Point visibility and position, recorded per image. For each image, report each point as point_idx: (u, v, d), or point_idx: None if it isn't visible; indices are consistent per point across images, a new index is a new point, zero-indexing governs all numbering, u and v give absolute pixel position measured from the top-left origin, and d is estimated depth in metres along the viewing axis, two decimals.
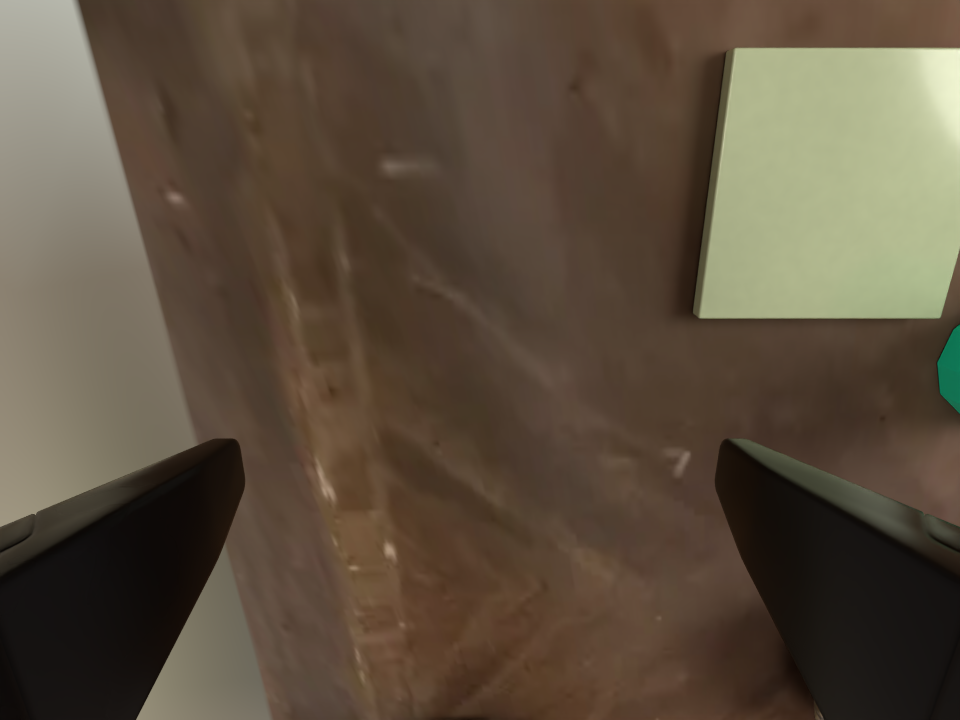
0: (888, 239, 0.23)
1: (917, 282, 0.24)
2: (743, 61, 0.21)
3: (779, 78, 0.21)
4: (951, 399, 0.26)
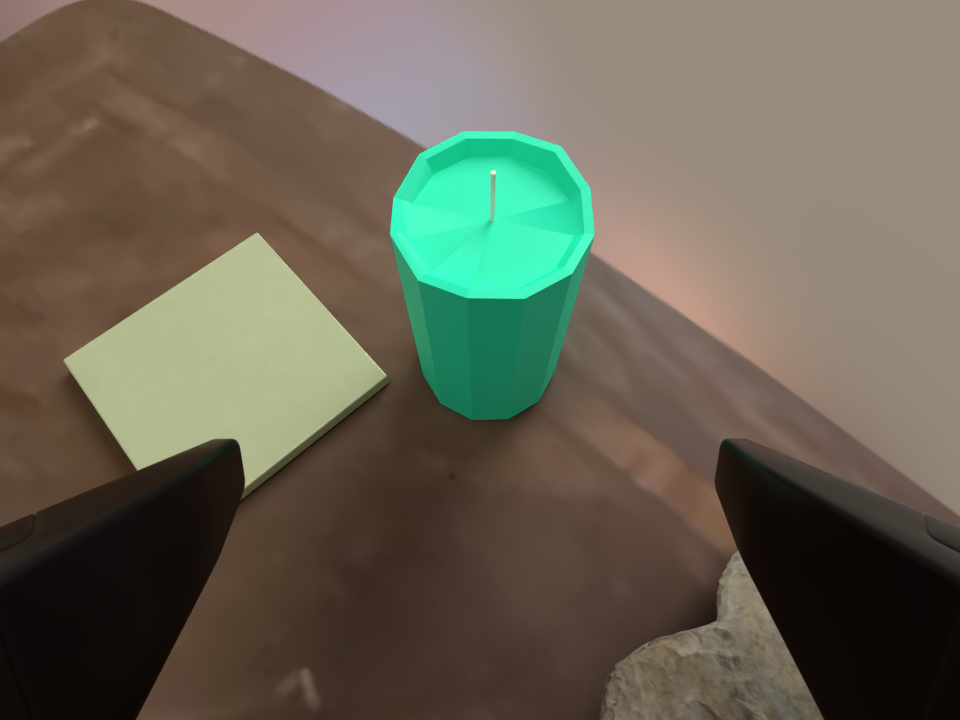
0: (286, 365, 0.26)
1: (340, 370, 0.26)
2: (75, 361, 0.26)
3: (110, 350, 0.26)
4: (471, 414, 0.25)
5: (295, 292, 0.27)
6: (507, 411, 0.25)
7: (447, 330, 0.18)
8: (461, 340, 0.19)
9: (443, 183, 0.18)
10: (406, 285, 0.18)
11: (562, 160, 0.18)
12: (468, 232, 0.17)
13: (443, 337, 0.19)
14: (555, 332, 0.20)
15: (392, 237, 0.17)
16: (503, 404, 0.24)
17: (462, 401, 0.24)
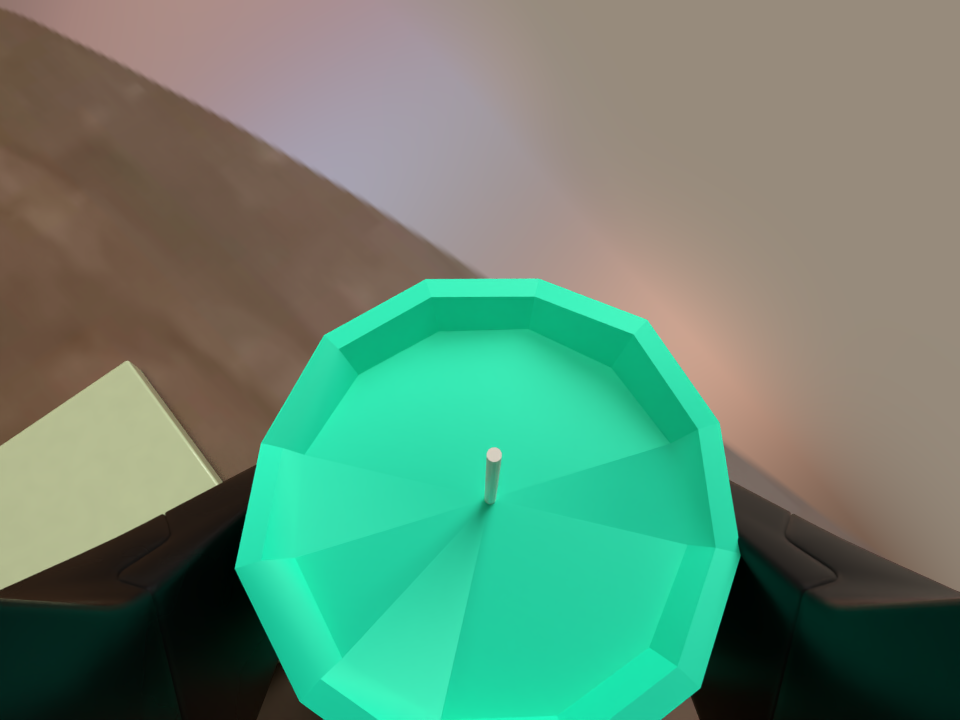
0: None
1: None
2: None
3: None
4: None
5: (177, 465, 0.17)
6: None
7: None
8: None
9: (379, 399, 0.08)
10: None
11: (652, 356, 0.08)
12: (435, 536, 0.07)
13: None
14: None
15: (241, 574, 0.07)
16: None
17: None
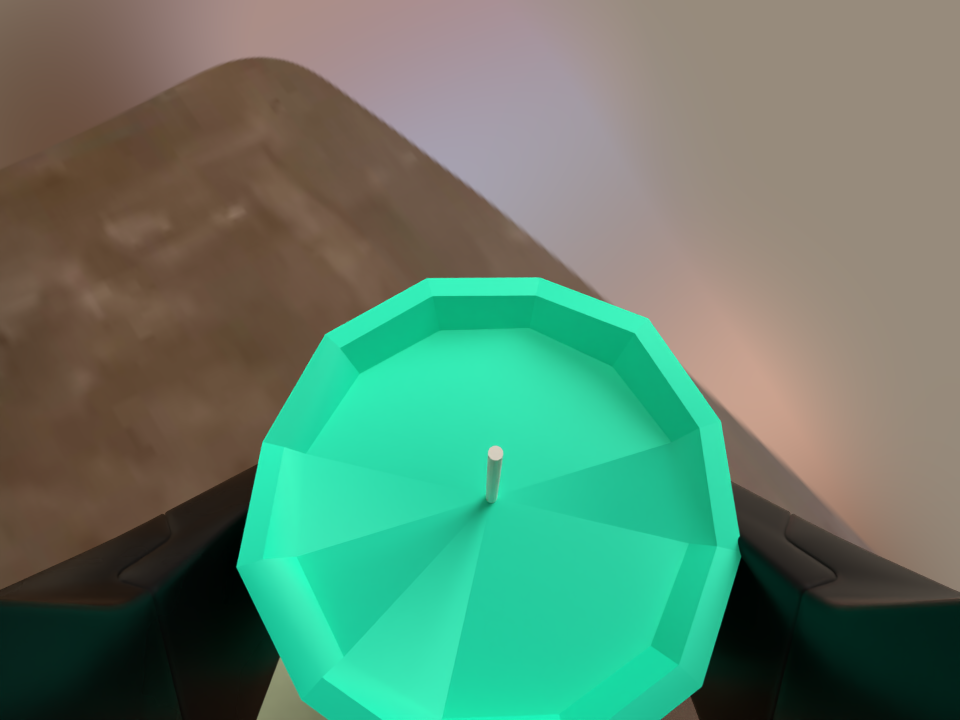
0: None
1: None
2: None
3: None
4: None
5: None
6: None
7: None
8: None
9: (381, 398, 0.08)
10: None
11: (654, 354, 0.08)
12: (436, 534, 0.07)
13: None
14: None
15: (242, 573, 0.07)
16: None
17: None
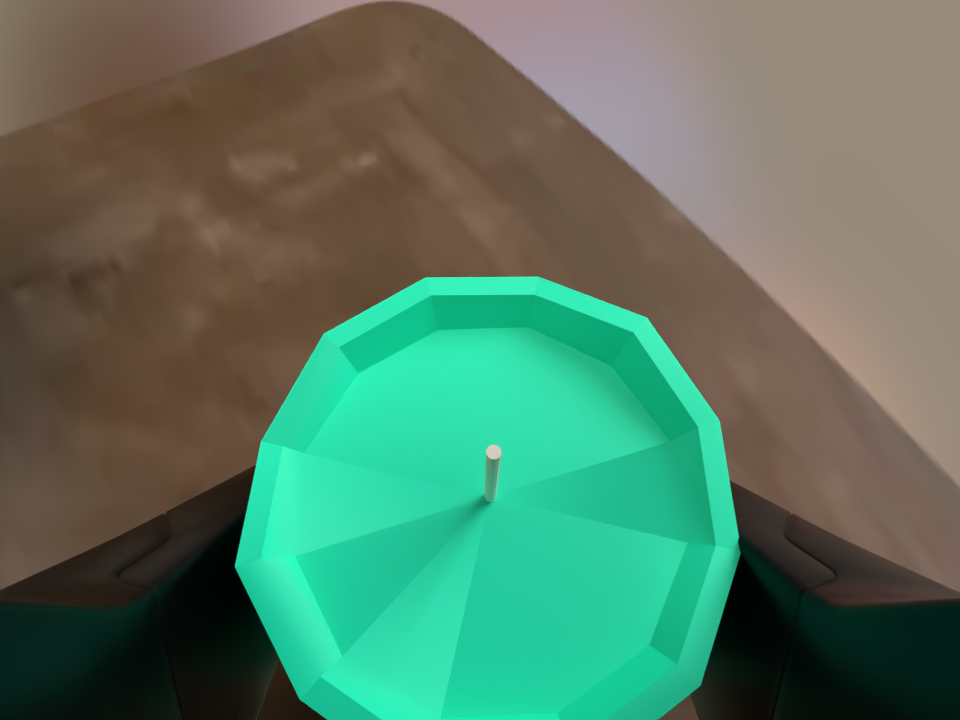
0: None
1: None
2: None
3: None
4: None
5: None
6: None
7: None
8: None
9: (379, 397, 0.08)
10: None
11: (652, 352, 0.08)
12: (434, 534, 0.07)
13: None
14: None
15: (241, 572, 0.07)
16: None
17: None
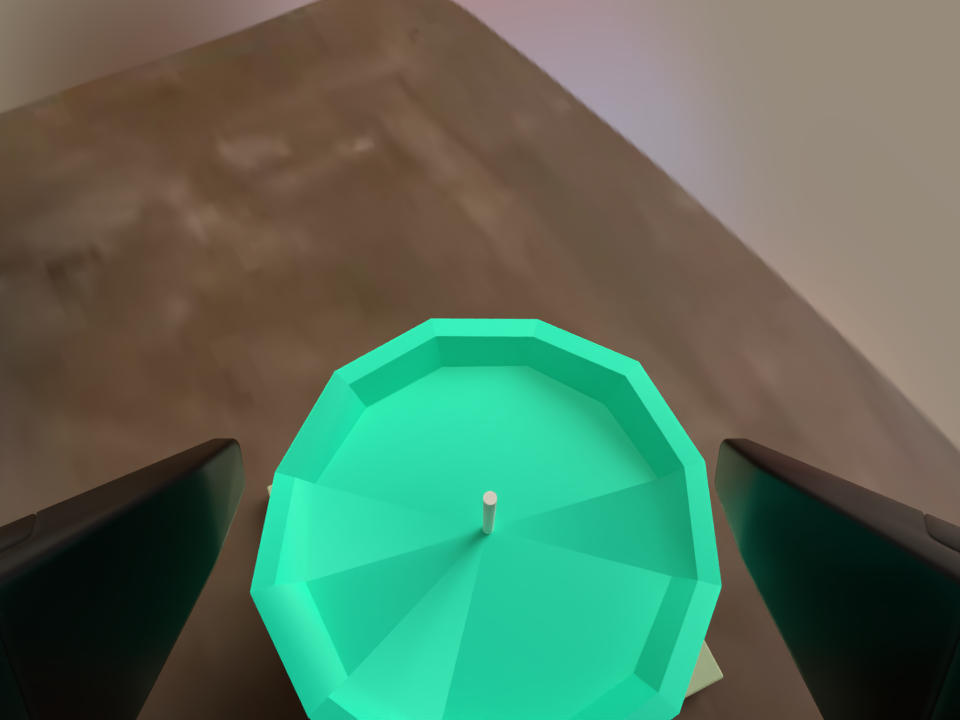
0: None
1: None
2: None
3: None
4: None
5: None
6: None
7: None
8: None
9: (386, 431, 0.09)
10: None
11: (643, 396, 0.08)
12: (436, 563, 0.08)
13: None
14: None
15: (255, 597, 0.07)
16: None
17: None
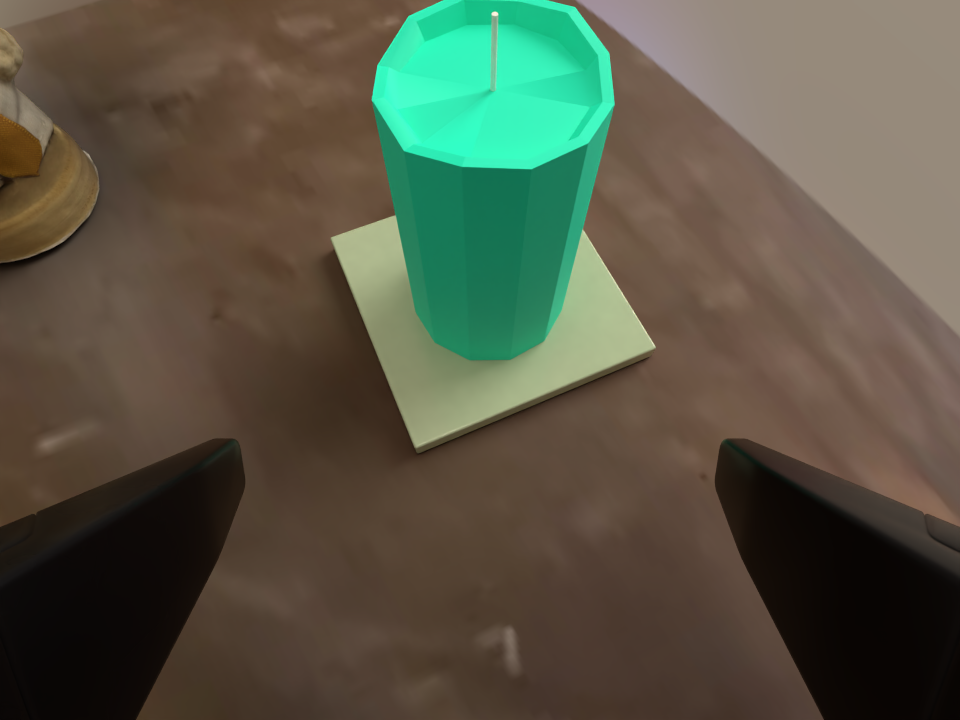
0: None
1: (606, 327, 0.23)
2: (341, 242, 0.25)
3: (377, 241, 0.25)
4: (468, 352, 0.22)
5: None
6: (509, 348, 0.22)
7: (440, 226, 0.16)
8: (456, 239, 0.16)
9: (436, 51, 0.15)
10: (392, 174, 0.16)
11: (577, 22, 0.15)
12: (465, 102, 0.15)
13: (436, 237, 0.16)
14: (565, 237, 0.17)
15: (374, 103, 0.14)
16: (504, 337, 0.21)
17: (458, 335, 0.21)
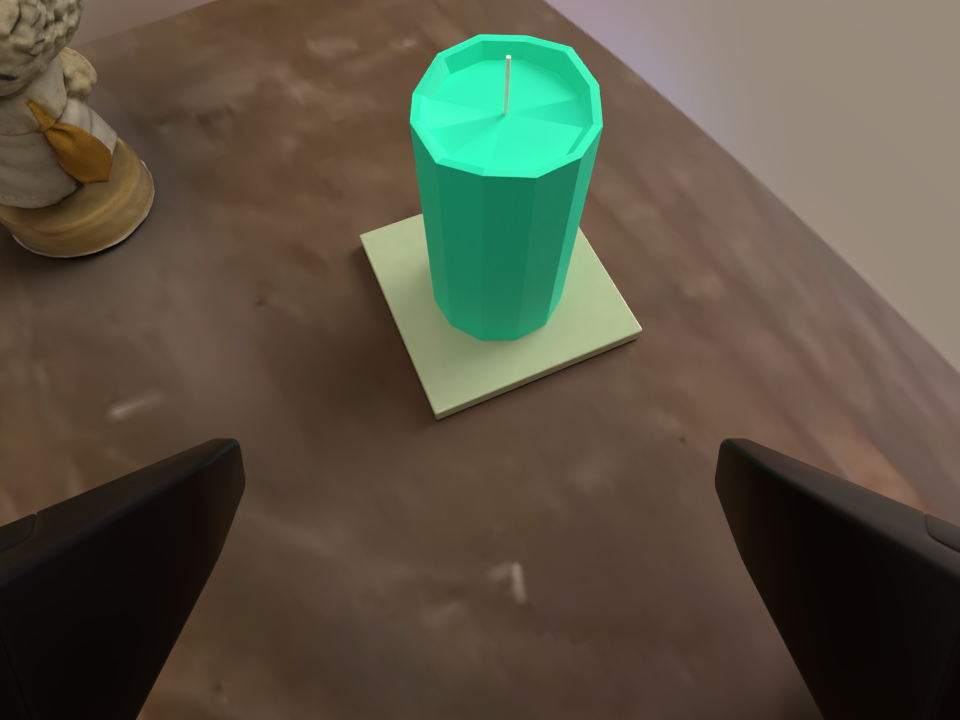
0: None
1: (600, 313, 0.27)
2: (369, 239, 0.29)
3: (400, 238, 0.29)
4: (481, 333, 0.26)
5: None
6: (516, 329, 0.25)
7: (462, 223, 0.19)
8: (475, 233, 0.20)
9: (460, 82, 0.19)
10: (423, 180, 0.20)
11: (572, 59, 0.19)
12: (483, 123, 0.18)
13: (458, 233, 0.20)
14: (564, 232, 0.21)
15: (412, 124, 0.18)
16: (512, 319, 0.25)
17: (472, 317, 0.25)
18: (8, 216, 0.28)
